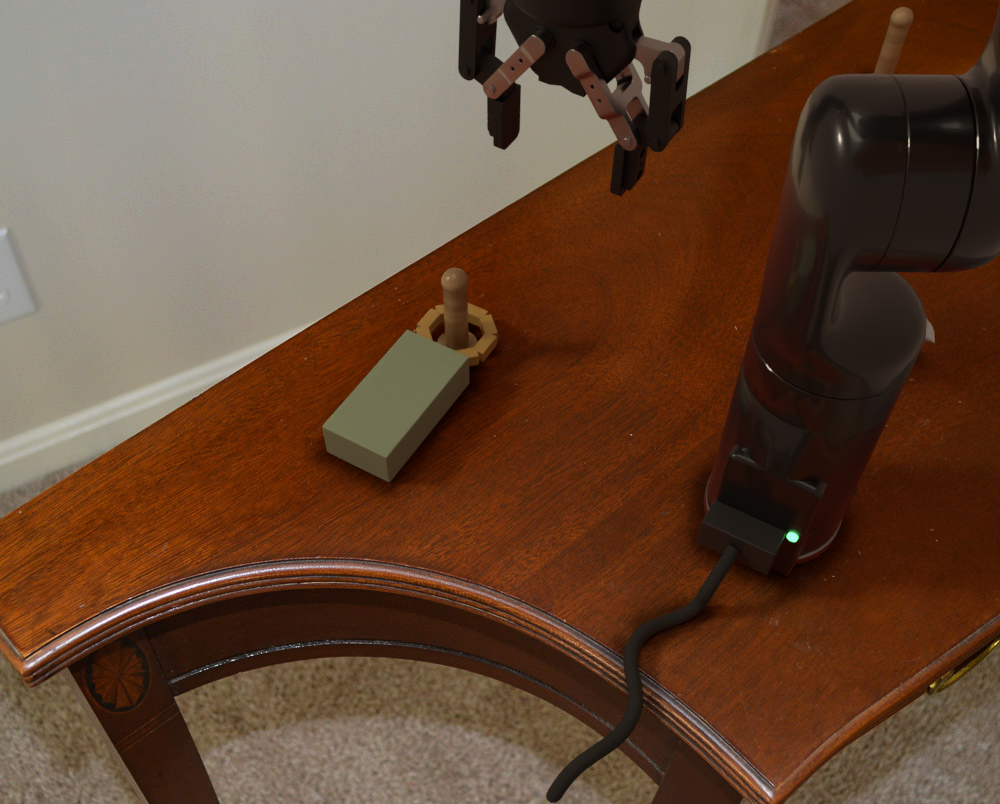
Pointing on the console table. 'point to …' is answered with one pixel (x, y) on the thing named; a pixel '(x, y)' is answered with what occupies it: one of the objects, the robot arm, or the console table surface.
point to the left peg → (456, 311)
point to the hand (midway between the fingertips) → (563, 164)
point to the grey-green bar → (405, 396)
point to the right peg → (894, 41)
